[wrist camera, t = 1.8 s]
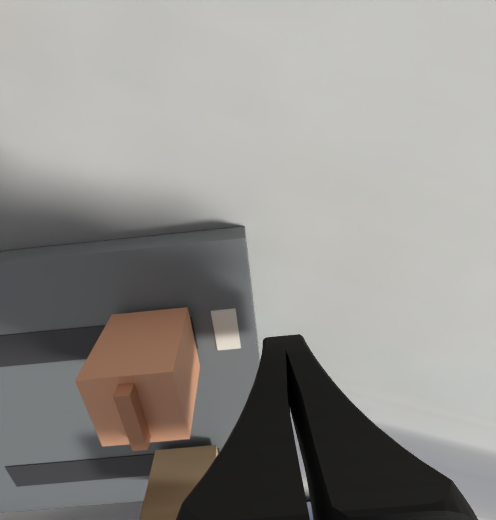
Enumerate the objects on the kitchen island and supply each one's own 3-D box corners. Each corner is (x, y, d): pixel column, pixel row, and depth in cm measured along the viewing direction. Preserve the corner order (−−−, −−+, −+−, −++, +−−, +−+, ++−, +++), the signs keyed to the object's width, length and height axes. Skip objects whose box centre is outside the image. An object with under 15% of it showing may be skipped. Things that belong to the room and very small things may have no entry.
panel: (272, 469, 21) (274, 501, 19) (-49, 496, 21) (-73, 530, 20) (244, 226, 14) (245, 244, 13) (-218, 273, 15) (-274, 297, 13)
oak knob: (224, 483, 19) (221, 577, 15) (167, 488, 19) (150, 582, 15) (216, 444, 18) (210, 538, 14) (155, 450, 18) (133, 544, 14)
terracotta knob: (200, 366, 15) (188, 452, 12) (130, 372, 15) (97, 460, 12) (187, 307, 14) (169, 384, 10) (111, 314, 14) (67, 393, 10)
